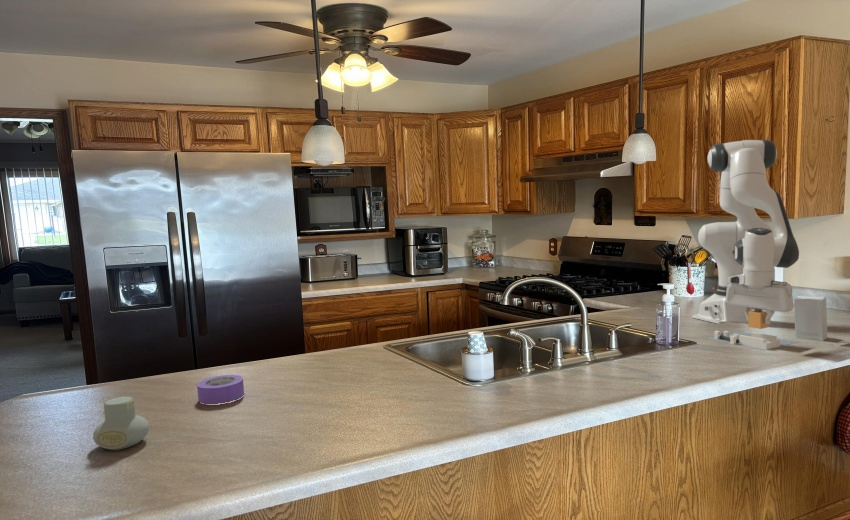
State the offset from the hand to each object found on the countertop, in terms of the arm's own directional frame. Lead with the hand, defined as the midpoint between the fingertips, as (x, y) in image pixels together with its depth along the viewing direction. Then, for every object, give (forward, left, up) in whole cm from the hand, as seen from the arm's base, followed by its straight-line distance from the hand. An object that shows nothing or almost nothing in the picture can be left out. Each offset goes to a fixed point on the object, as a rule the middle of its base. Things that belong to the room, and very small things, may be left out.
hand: (758, 322), depth 186 cm
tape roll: (-49, -158, -9) cm, 166 cm away
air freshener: (-28, -182, -9) cm, 184 cm away
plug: (0, 0, -2) cm, 2 cm away
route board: (-5, +4, -9) cm, 11 cm away
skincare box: (+4, +22, -9) cm, 24 cm away
